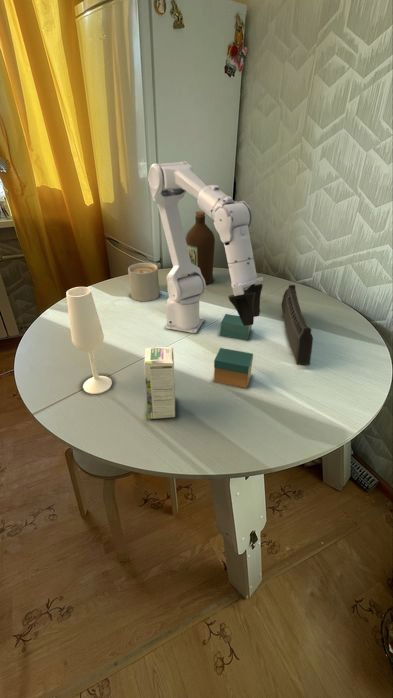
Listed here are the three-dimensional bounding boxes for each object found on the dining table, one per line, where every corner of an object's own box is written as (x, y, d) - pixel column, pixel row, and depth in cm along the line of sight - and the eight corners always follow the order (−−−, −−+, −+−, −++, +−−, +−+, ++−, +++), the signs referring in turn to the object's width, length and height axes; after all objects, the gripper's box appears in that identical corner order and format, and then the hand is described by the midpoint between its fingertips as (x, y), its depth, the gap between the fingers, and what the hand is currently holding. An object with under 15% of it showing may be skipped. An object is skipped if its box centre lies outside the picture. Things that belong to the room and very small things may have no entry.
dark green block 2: (220, 335, 102) (220, 329, 101) (224, 326, 106) (225, 320, 105) (247, 340, 100) (248, 333, 99) (251, 331, 104) (251, 324, 103)
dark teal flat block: (213, 367, 82) (214, 360, 81) (220, 355, 86) (220, 347, 85) (247, 374, 80) (248, 366, 79) (252, 361, 84) (253, 353, 83)
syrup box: (149, 401, 79) (143, 347, 71) (175, 399, 79) (173, 346, 71) (148, 419, 74) (142, 364, 66) (176, 417, 75) (173, 362, 66)
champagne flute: (87, 375, 87) (67, 284, 73) (114, 375, 87) (99, 285, 73) (79, 393, 81) (55, 298, 68) (108, 394, 81) (90, 299, 68)
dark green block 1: (220, 329, 101) (220, 322, 99) (225, 320, 105) (225, 313, 104) (248, 333, 99) (248, 327, 97) (251, 324, 103) (252, 317, 102)
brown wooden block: (213, 381, 85) (214, 374, 83) (218, 370, 88) (219, 363, 87) (246, 388, 83) (247, 380, 81) (250, 376, 86) (251, 369, 85)
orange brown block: (214, 374, 83) (214, 366, 82) (219, 363, 87) (219, 356, 86) (247, 380, 81) (248, 373, 80) (251, 369, 85) (252, 362, 84)
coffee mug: (159, 300, 121) (157, 272, 115) (130, 302, 120) (127, 274, 115) (159, 284, 132) (157, 258, 126) (132, 286, 131) (129, 259, 126)
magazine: (317, 344, 81) (301, 264, 100) (303, 344, 82) (290, 263, 100) (302, 385, 95) (290, 307, 114) (290, 385, 95) (280, 307, 114)
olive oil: (203, 272, 142) (203, 207, 128) (219, 281, 134) (221, 213, 120) (180, 279, 137) (178, 211, 123) (196, 288, 129) (196, 217, 115)
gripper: (252, 260, 69) (264, 326, 73) (264, 254, 82) (273, 310, 86) (218, 267, 72) (231, 330, 76) (235, 260, 85) (245, 315, 88)
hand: (251, 320), depth 81 cm, fingers open, 7 cm apart
